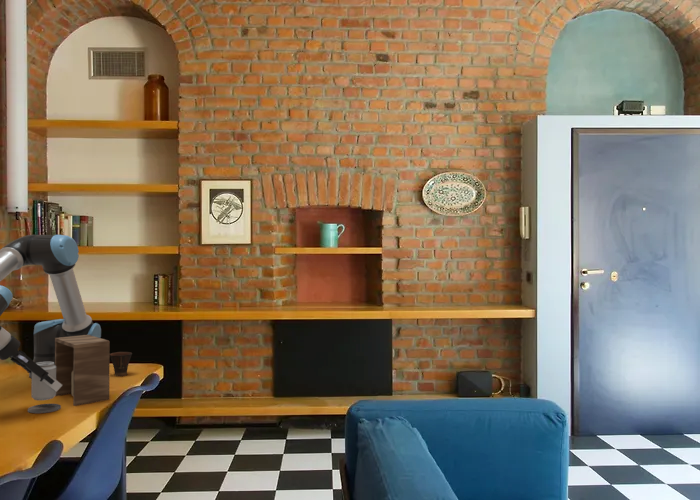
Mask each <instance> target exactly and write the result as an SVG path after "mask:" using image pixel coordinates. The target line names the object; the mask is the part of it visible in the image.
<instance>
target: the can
mask: <svg viewBox="0 0 700 500" xmlns="http://www.w3.org/2000/svg"><path fill="white" fill-rule="evenodd" d="M36 364H37V365H39V366H40V367H41V368H43V369H44V370H45V371H46V372H48V373H49V375H51V376H52V377H53V378H54V379H56V366H55V365H54V362H38V363H36ZM40 380H41V378H39V377H38V376H37V375H35V374H34V373H33V372H32V378H31V398H32V399H33V400H34V401H48V400H52V399H54V398H55V397H56V396H55V395H56V391H55V390H54V389H52V388H51V387H50V386H49V385H47V384H46V383H45V382H43V381H40Z"/></svg>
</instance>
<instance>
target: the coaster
mask: <svg viewBox="0 0 700 500" xmlns="http://www.w3.org/2000/svg"><path fill="white" fill-rule="evenodd" d="M61 408H62V406H61V404H59V403H41V404H37V405H32V406H29V407H28V408H27V413H29V414H36V415H37V414H48V413H53V412H57V411H59V410H61Z"/></svg>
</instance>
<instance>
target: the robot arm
mask: <svg viewBox="0 0 700 500" xmlns="http://www.w3.org/2000/svg"><path fill="white" fill-rule="evenodd" d="M79 253H80V252H79V246H78V244H77V242H76V241H75V239H74V238H73V237H71V236H69V235H65V234H64V235H63V234H27V235H24V236H21V237H19V238H16V239H14V240H12V241H10V242H9V243H7V244H6V245H5V246H2V248H0V282H1V281H3V280H4V279H5V278H6V277H7V276H9V275H10V274H11V273H12V272H13V271H18V270H19V269H21V268H22V267H24V266H29V265H32V266H33V265H35V266H36V265H37V266H42V269H43V272H44V274H46V275H49V278H50V280H51V284H52V287H53V290H54V292H55V296H56V299H57V302H58V306H59V307H60V309H59V310H60V312H61V315H62V317H63V318H59V319H52V320H46V321H41V322H40V321H39V322H36V324H35V325H34V327H33V328H34V329H33V359H32V358H31V357H29V356H28V355H27V354H26V353H25V352H24V351H23V350H20V349H19V348H20V347H21V341H20V340H18V339H17V338H16V337H15V336H14V335H12V334H11V333H10V332H9V331H7V330H6V329H5V328H4V327H3V326H1V325H0V360H1V361H6V360H7V359H9V358H10V361H11V362H13V363H14V364H17V365H18V366H19V367H21V368H22V369H23V370H24V371H26V372H27V373H28V375H29V378H31V379H32V372H33V373H34V374H35V375H37V376H38V377H39V378H41V380H40V381H43V382H45V383H46V384H47V385H49V386H50V387H51V388H52V389H54V390H55V391H56V392H57V391H58V390H59V389H60V387H61V386H62V384H61V383H59V382H58V381H57V380H56V379H54V378H53V377H52V376H51V375H49V373H48V372H46V371H45V370H44V369H43V368H41V367H40V366H39V365H37V364H36V363H38V362H54V365H55V338H61V337H71V336H81V335H91V336H94V337H98V338H101V337H102V328H101V325H100V324H99V323H98V322H95V323H94V322H93V319H92V317H91V316H90V315H89V314H87V312H86V309H85V305H84V302H83V299H82V295H81V293H80V292H81V291H80V288H79V286H78V281H77V278H76V275H75V272H74V268H75V267H76V264H77V262H78V260H79ZM12 300H13V293H12V291H11V290H10V289H9V288H8V287H6V286H3V285H1V284H0V317H1V316H2V314H3V313H4V312H5V311H6V310H7V308H8V307H9V305H10V304H11V303H12Z"/></svg>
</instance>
